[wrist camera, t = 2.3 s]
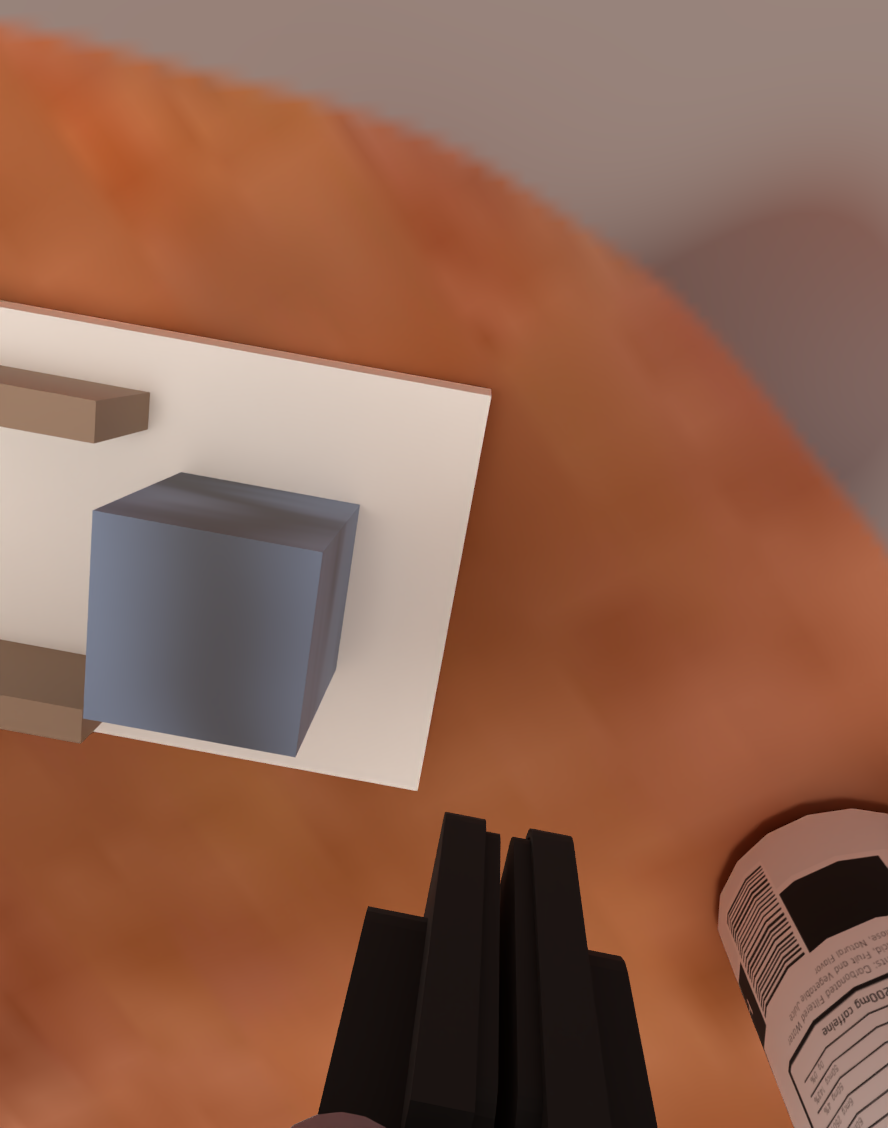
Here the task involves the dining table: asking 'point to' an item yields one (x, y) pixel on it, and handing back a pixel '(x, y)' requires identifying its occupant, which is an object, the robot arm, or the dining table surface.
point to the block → (216, 610)
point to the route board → (246, 455)
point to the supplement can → (817, 962)
